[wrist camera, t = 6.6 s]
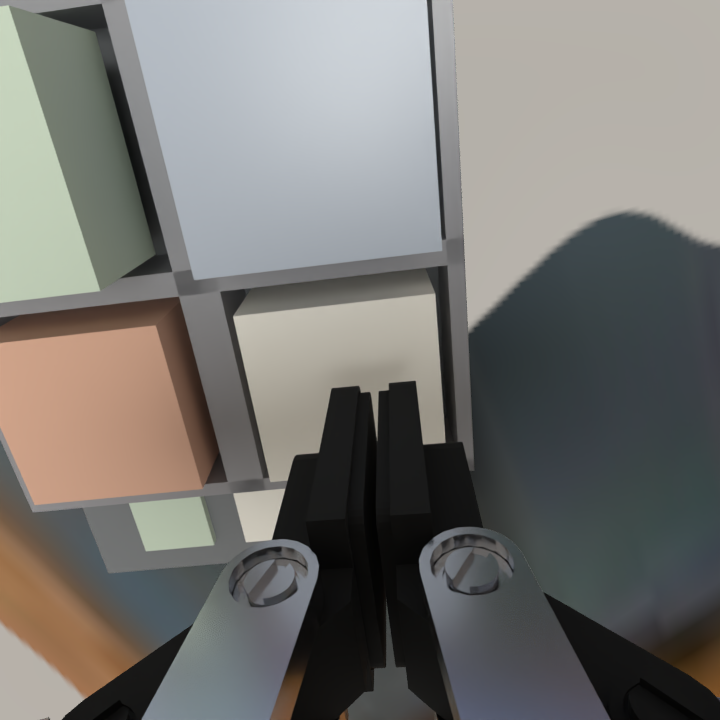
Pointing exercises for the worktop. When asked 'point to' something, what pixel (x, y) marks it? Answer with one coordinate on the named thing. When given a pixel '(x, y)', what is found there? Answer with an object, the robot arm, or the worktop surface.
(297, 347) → the ivory key
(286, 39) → the slate key
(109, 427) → the terracotta key
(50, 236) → the sage key
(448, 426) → the keypad board
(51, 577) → the worktop surface
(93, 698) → the robot arm
